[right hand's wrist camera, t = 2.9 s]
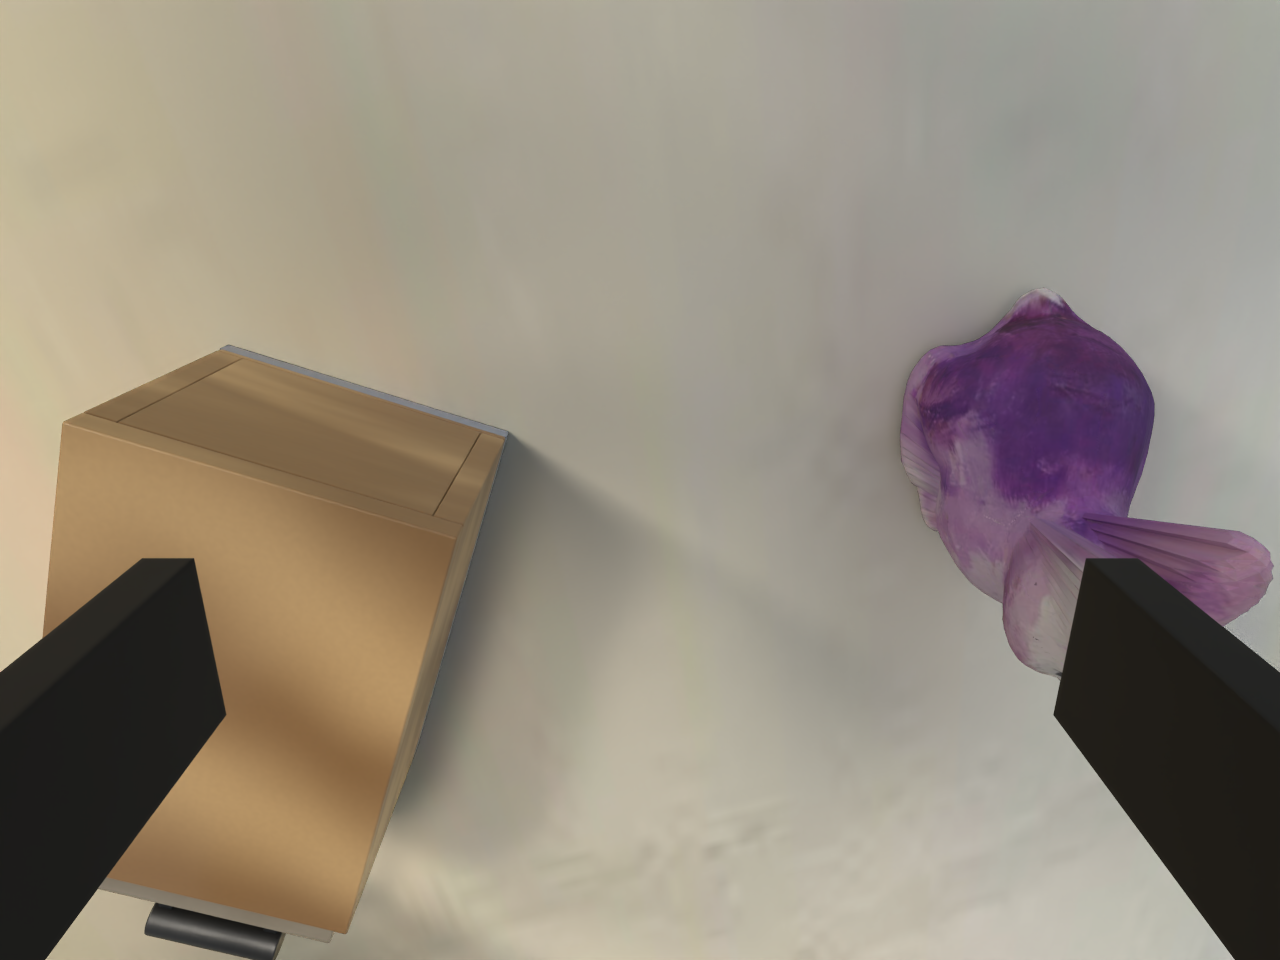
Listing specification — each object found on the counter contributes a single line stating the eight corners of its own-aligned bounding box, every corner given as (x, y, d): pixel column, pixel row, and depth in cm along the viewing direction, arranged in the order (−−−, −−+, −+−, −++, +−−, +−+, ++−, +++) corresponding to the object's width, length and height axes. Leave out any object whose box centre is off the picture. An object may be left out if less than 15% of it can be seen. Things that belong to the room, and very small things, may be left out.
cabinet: (416, 749, 41) (346, 935, 31) (173, 684, 40) (20, 858, 30) (508, 431, 35) (458, 537, 25) (228, 344, 34) (61, 421, 24)
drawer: (364, 882, 43) (301, 1047, 35) (155, 830, 41) (39, 990, 34) (470, 504, 35) (421, 604, 27) (220, 429, 34) (93, 511, 26)
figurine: (967, 587, 38) (1162, 842, 24) (830, 420, 35) (957, 597, 21) (1159, 455, 35) (1499, 650, 21) (1027, 265, 33) (1319, 347, 19)
